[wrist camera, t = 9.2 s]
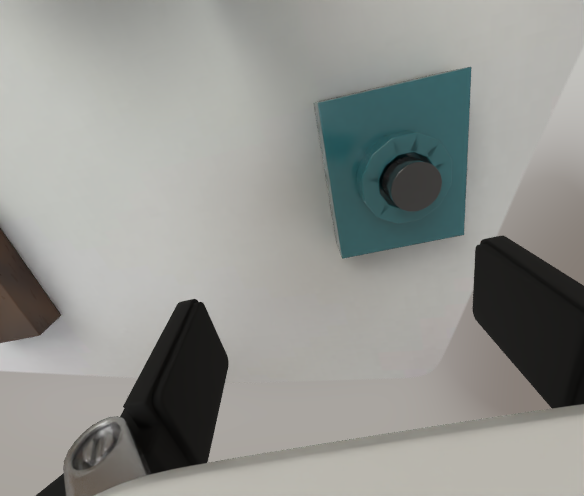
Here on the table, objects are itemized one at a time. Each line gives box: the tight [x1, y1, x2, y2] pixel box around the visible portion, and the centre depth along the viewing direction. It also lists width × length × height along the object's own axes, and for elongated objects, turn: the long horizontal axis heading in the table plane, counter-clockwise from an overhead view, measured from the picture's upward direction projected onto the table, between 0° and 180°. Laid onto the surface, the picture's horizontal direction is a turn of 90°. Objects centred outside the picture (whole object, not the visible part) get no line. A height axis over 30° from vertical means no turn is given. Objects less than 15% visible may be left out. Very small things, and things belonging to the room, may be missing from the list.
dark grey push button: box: [382, 157, 442, 211], centre depth 20 cm, size 3×3×2 cm
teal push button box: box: [314, 67, 471, 258], centre depth 23 cm, size 12×10×5 cm
